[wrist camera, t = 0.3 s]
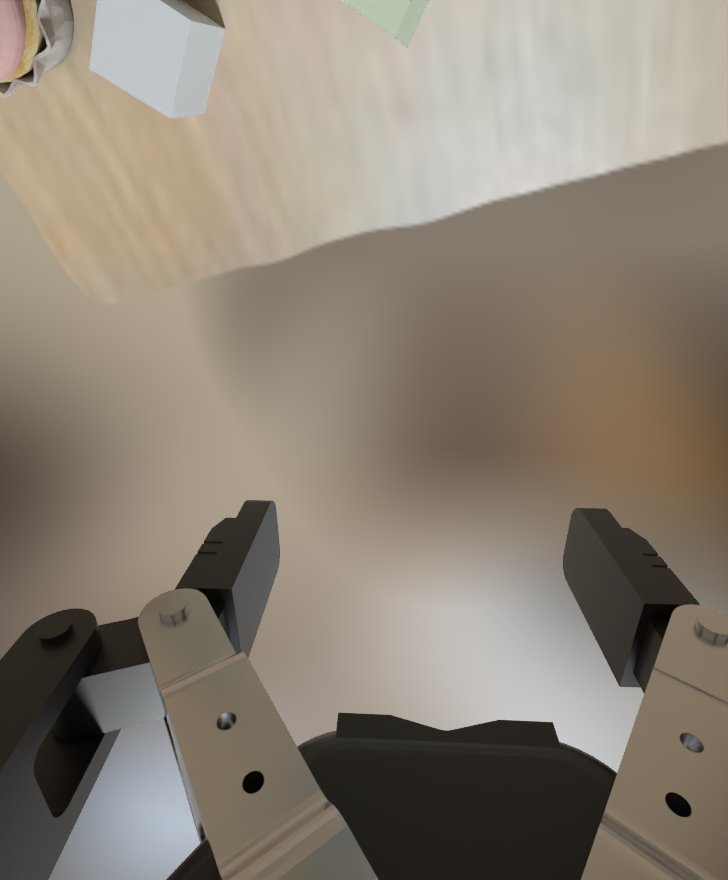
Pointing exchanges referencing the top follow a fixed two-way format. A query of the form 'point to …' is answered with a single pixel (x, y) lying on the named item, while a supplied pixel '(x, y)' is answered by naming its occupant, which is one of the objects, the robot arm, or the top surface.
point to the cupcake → (32, 40)
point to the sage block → (392, 15)
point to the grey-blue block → (157, 52)
